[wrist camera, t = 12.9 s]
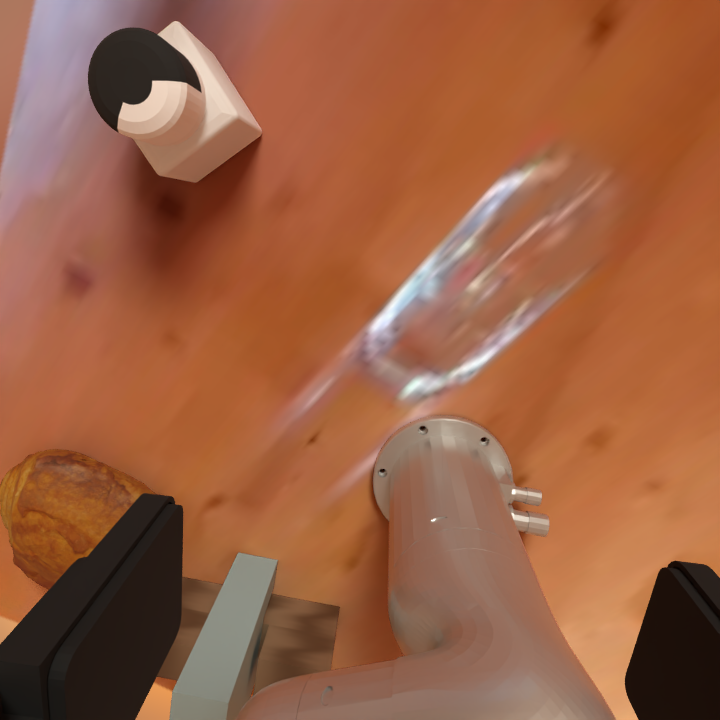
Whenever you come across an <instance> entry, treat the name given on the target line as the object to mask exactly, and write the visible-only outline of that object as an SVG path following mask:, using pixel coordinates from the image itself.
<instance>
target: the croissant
mask: <svg viewBox="0 0 720 720" xmlns="http://www.w3.org/2000/svg"><path fill="white" fill-rule="evenodd" d="M143 493H148V494H155V493H154V492H152V491H151V490H150V489H149V488H148V487H147V486H146V485H145V484H144V483H142V482H140V481H138V480H135V479H134V478H133V477H131V476H129V475H127V474H125V473H123V472H120V471H118V470H116V469H113V468H111V467H109V466H107V465H105V464H103V463H100V462H98V461H96V460H94V459H92V458H90V457H88V456H86V455H83V454H81V453H78V452H73V451H68V450H59V449H54V450H46V451H44V452H41V451H40V452H37V453H35V454H32V455H28V456H27V457H26V458H25V459H24V461H22V462H21V463H20V464H18V465H17V466H15V467H13V468H12V469H11V470H10V471H8V472H7V473H6V475H5V477H4V478H3V480H2V482H1V485H0V507H1V509H0V514H1V516H2V520H3V523H4V525H5V527H6V528H7V529H8V532H9V542H10V544H11V547H12V548H13V554H14V558H13V562H14V564H15V565H16V566H18V567H19V568H20V569H21V570H22V571H23V572H24V573H25V574H26V576H27V577H29V578H31V579H32V580H33V581H35V582H36V583H38V584H39V585H41V586H43V587H45V588H46V589H48V590H49V589H50V588H51V587H52V586H53V585H54V584H55V583H56V581H57V580H58V579H59V578H60V577H61V576H62V575H63V574H64V572H65V571H66V570H67V569H68V568H69V567H70V566H71V565H72V564H73V563H74V562H75V561H76V560H77V559H79V558H82V557H87V556H88V555H89V554H90V553H91V552H92V550H93V549H94V548H95V547H96V546H97V545H98V543H99V542H100V541H101V540H102V539H103V538H104V537H105V535H106V534H107V533H108V532H109V531H110V530H111V529H112V527H113V526H114V525H115V524H116V523H117V522H118V520H119V519H120V518H121V517H122V516H123V515H124V514H125V512H126V511H127V510H128V509H129V508H130V507H131V505H132V504H133V503H134V502H135V501H136V500H137V499H138V497H139V496H140V495H142V494H143Z"/></svg>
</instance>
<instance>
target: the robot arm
mask: <svg viewBox="0 0 720 720" xmlns="http://www.w3.org/2000/svg"><path fill="white" fill-rule="evenodd" d="M420 426H425V428H424V429H421V428H420ZM483 437H486V438H485V440H481V438H483ZM380 469H385V470H384V471H381V470H380ZM373 490H374V495H375V498H376V502H377V504H378V506H379V508H380V510H381V512H382V514H383V515H384V517H385V518H386V519H387V520H388V522H389V557H388V613H389V620H390V623H391V627H392V631H393V634H394V637H395V639H396V641H397V643H398V646H399V648H400V650H401V651H402V653H403V655H404V656H402V657H398V658H397V659H395V660H389V661H383V662H377V663H371V664H365V665H359V666H353V667H347V668H342V669H336V670H330V671H324V672H318V673H312V674H307V675H302V676H297V677H293V678H288V679H284V680H281V681H278V682H275V683H273V684H271V685H269V686H267V687H265V688H263V689H261V690H260V691H259V692H257V693H256V694H255V695H253V696H252V697H251V698H250V699H249V700H248V701H247V702H246V704H245V705H244V706H243V707H242V709H241V711H240V712H239V714H238V716H237V717H236V719H235V720H616V718H615V717H614V715H613V713H612V711H611V709H610V708H609V706H608V704H607V703H606V701H605V699H604V697H603V696H602V694H601V693H600V691H599V690H598V688H597V687H596V685H595V684H594V682H593V681H592V679H591V678H590V676H589V675H588V673H587V672H586V670H585V669H584V667H583V666H582V664H581V663H580V661H579V660H578V658H577V657H576V655H575V654H574V652H573V651H572V649H571V647H570V646H569V644H568V642H567V641H566V639H565V637H564V635H563V633H562V632H561V630H560V628H559V626H558V624H557V622H556V620H555V618H554V616H553V614H552V612H551V610H550V607H549V605H548V603H547V600H546V598H545V596H544V593H543V591H542V589H541V586H540V584H539V581H538V579H537V576H536V574H535V571H534V569H533V567H532V565H531V562H530V560H529V557H528V554H527V552H526V549H525V547H524V544H523V542H522V539H521V537H520V534H519V532H518V531H520V532H524V533H526V534H532V535H537V536H542V537H546V535H547V534H548V531H549V518H548V516H547V515H546V514H541V513H535V512H530V511H526V512H524V511H519V510H514V509H513V506H512V505H510V504H509V503H513V501H518V502H523V503H525V504H530V505H535V506H539V505H540V504H541V500H542V492H541V491H540V490H537V489H532V488H527V487H525V488H522V487H517V486H515V483H513V475H512V468H511V465H510V462H509V459H508V457H507V455H506V453H505V451H504V449H503V447H502V446H501V444H500V443H499V442H498V440H497V439H496V438H495V437H494V436H493V435H492V434H491V433H490V432H489V431H488V430H487V429H485V428H483V427H482V426H480V425H478V424H477V423H475V422H472V421H470V420H467V419H464V418H460V417H455V416H447V415H436V416H430V417H425V418H421V419H418V420H416V421H413V422H410V423H408V424H407V425H405V426H403V427H402V428H400V429H399V430H397V431H396V432H395V433H394V434H393V435H392V436H391V437H390V438H389V439H388V440H387V441H386V443H385V444H384V445H383V447H382V448H381V450H380V452H379V455H378V457H377V459H376V463H375V467H374V473H373ZM182 553H183V508H182V506H181V505H175V501H174V498H173V497H172V496H164V495H156V494H148V493H143V494H142V495H140V496H139V497H138V499H137V500H136V501H135V502H134V503H133V504H132V505H131V507H130V508H129V509H128V510H127V511H126V512H125V514H124V515H123V516H122V517H121V518H120V519H119V520H118V522H117V523H116V524H115V525H114V526H113V527H112V529H111V530H110V531H109V532H108V533H107V534H106V535H105V537H104V538H103V539H102V540H101V541H100V542H99V543H98V545H97V546H96V547H95V548H94V549H93V550H92V552H91V553H90V554H89V555H88V556H87V557H82V558H79V559H77V560H76V561H75V562H74V563H73V564H72V565H71V566H70V567H69V568H68V569H67V570H66V571H65V572H64V574H63V575H62V576H61V577H60V578H59V579H58V580H57V581H56V583H55V584H54V585H53V586H52V587H51V588H50V589H49V590H48V592H47V593H46V594H45V595H44V596H43V597H42V598H41V599H40V600H39V602H38V603H37V604H36V605H35V606H34V607H33V608H32V609H31V611H30V612H29V613H28V614H27V615H26V616H25V617H24V618H23V620H22V621H21V622H20V623H19V624H18V625H17V626H16V627H15V628H14V630H13V631H12V632H11V633H10V634H9V635H8V636H7V637H6V639H5V640H4V641H3V642H2V643H1V644H0V720H135V719H136V717H137V715H138V713H139V711H140V708H141V707H142V705H143V703H144V701H145V699H146V697H147V695H148V693H149V691H150V689H151V687H152V685H153V683H154V681H155V679H156V677H157V675H158V673H159V671H160V669H161V667H162V665H163V663H164V661H165V659H166V657H167V655H168V653H169V651H170V649H171V647H172V645H173V643H174V641H175V639H176V636H177V634H178V631H179V628H180V624H181V616H182ZM625 688H626V693H627V696H628V699H629V701H630V703H631V705H632V707H633V709H634V711H635V713H636V715H637V717H638V719H639V720H720V578H719V577H718V576H717V574H716V573H715V572H714V571H713V570H712V569H711V568H710V567H709V566H707V565H704V564H696V563H688V562H681V561H673V562H671V563H670V564H669V565H668V567H667V568H666V567H665V568H662V569H661V570H660V571H659V573H658V576H657V579H656V582H655V585H654V588H653V591H652V595H651V598H650V601H649V604H648V607H647V610H646V613H645V616H644V619H643V623H642V626H641V629H640V632H639V635H638V638H637V641H636V644H635V647H634V651H633V654H632V657H631V660H630V663H629V666H628V669H627V672H626V676H625Z"/></svg>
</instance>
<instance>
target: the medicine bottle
mask: <svg viewBox="0 0 720 720" xmlns="http://www.w3.org/2000/svg"><path fill="white" fill-rule="evenodd" d="M88 85H89V91H90V95H91V99H92V101H93V104H94V106H95V108H96V110H97V112H98V113H99V115H100V116H101V118H102V119H103V120H104V121H105V122H106V123H107V124H108V125H109V126H110V127H111V128H112V129H114V130H115V131H117V132H118V133H120V134H122V135H125V136H127V137H131V138H133V140H134V141H135V143H136V144H137V145H138V147H139V148H140V150H141V151H142V153H143V154H144V156H145V157H146V159H147V160H148V161H149V163H150V164H151V166H152V167H153V169H154V170H155V172H156V173H157V174H158V175H159V176H164V177H169V178H174V179H179V180H184V181H189V182H194V183H196V182H198V181H200V180H201V179H202V178H204V177H205V176H206V175H208V174H209V173H210V172H212V171H213V170H215V169H216V168H217V167H219V166H220V165H221V164H223V163H224V162H225V161H227V160H228V159H230V158H231V157H232V156H234V155H235V154H236V153H238V152H239V151H240V150H242V149H243V148H245V147H246V146H247V145H249V144H250V143H251V142H253V141H254V140H255V139H257V138H258V137H260V136H261V134H262V130H261V128H260V126H259V125H258V123H257V122H256V120H255V118H254V117H253V115H252V114H251V112H250V110H249V109H248V107H247V106H246V104H245V103H244V101H243V99H242V98H241V96H240V95H239V93H238V92H237V90H236V88H235V87H234V85H233V84H232V82H231V81H230V79H229V77H228V76H227V74H226V73H225V71H224V70H223V68H222V66H221V65H220V63H219V62H218V60H217V59H216V57H215V55H214V54H213V53H212V52H211V51H210V50H209V49H208V48H207V47H206V46H204V45H203V44H202V43H201V42H200V41H199V40H198V39H197V38H196V37H195V36H194V35H193V34H192V33H190V32H189V31H188V30H187V29H186V28H185V27H184V26H183V25H182V24H181V23H180V22H178V21H174V22H172V23H171V24H170V25H168V26H167V27H166V28H165V29H163V30H162V31H161V32H160V33H159V34H155V33H153V32H151V31H149V30H146V29H141V28H125V29H120V30H118V31H115V32H113V33H111V34H110V35H108V36H107V37H106V38H105V39H104V40H102V41H101V43H100V44H99V45H98V46H97V48H96V50H95V51H94V53H93V56H92V58H91V61H90V65H89V71H88Z"/></svg>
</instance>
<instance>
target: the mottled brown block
mask: <svg viewBox="0 0 720 720" xmlns="http://www.w3.org/2000/svg"><path fill="white" fill-rule="evenodd" d="M222 586H223V585H222V584H216V583H211V582H206V581H201V580H195V579H190V578H185V577H182V616H181V624H180V628H179V631H178V634H177V636H176V639H175V641H174V643H173V645H172V647H171V649H170V651H169V653H168V655H167V657H166V659H165V661H164V663H163V665H162V667H161V669H160V671H159V673H158V675H157V677H162V678H167V679H172V680H177V681H178V679H179V677H180V675H181V672H182V670H183V668H184V666H185V664H186V662H187V660H188V658H189V656H190V653H191V651H192V649H193V647H194V645H195V643H196V641H197V639H198V637H199V634H200V632H201V630H202V628H203V626H204V624H205V622H206V620H207V618H208V615H209V613H210V611H211V609H212V607H213V605H214V603H215V601H216V599H217V596H218V594H219V592H220V590H221V588H222ZM339 608H340V607H337V606H332V605H326V604H321V603H316V602H311V601H305V600H300V599H295V598H290V597H285V596H279V595H274V594H271V597H270V600H269V603H268V606H267V609H266V612H265V615H264V620H263V626H262V633H261V639H260V646H259V652H258V658H259V659H258V666H257V673H256V679H255V686H254V693H253V695H255V694H256V693H257V692H259V691H260V690H261V689H263V688H265V687H267V686H269V685H271V684H273V683H275V682H278V681H281V680H284V679H288V678H293V677H297V676H302V675H307V674H312V673H318V672H324V671H330V670H331V664H332V657H333V650H334V643H335V636H336V629H337V622H338V615H339Z"/></svg>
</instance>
